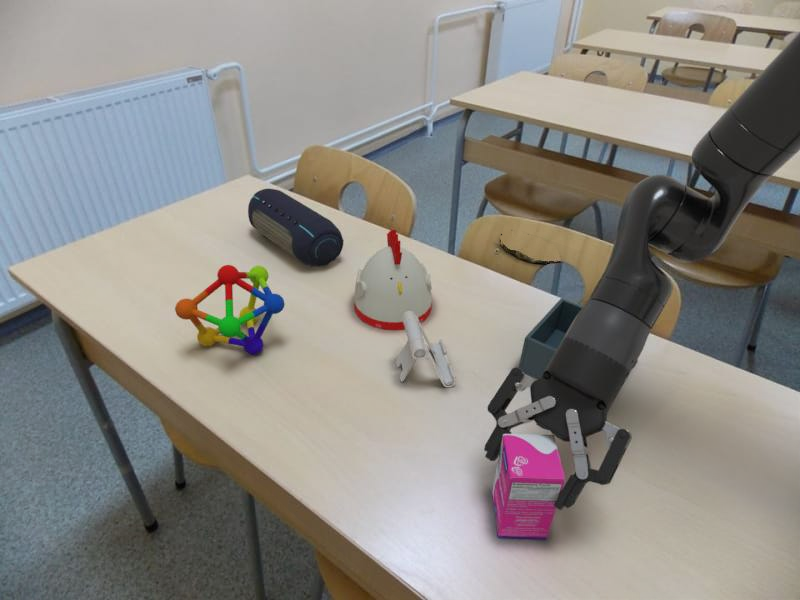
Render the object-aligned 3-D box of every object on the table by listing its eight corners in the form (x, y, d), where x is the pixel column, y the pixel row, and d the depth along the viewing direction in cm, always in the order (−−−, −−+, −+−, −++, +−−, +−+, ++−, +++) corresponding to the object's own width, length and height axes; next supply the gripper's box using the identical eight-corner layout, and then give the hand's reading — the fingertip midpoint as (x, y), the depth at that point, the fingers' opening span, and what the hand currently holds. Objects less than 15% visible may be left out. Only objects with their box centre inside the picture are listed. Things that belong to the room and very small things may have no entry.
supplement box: (489, 493, 63) (502, 430, 56) (538, 495, 63) (557, 433, 56) (495, 539, 58) (509, 477, 51) (548, 541, 58) (569, 479, 51)
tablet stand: (454, 387, 77) (460, 344, 72) (403, 392, 76) (404, 349, 71) (441, 349, 84) (445, 307, 79) (394, 353, 83) (394, 312, 78)
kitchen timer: (360, 334, 87) (358, 257, 78) (349, 288, 98) (346, 216, 89) (440, 324, 89) (446, 249, 80) (421, 281, 100) (425, 210, 91)
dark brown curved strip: (569, 259, 110) (510, 234, 118) (576, 239, 107) (514, 215, 115) (548, 272, 103) (487, 245, 111) (555, 251, 101) (491, 224, 109)
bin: (630, 361, 83) (642, 329, 79) (600, 410, 74) (612, 377, 70) (553, 328, 89) (561, 297, 85) (518, 369, 81) (524, 337, 77)
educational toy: (246, 387, 78) (220, 313, 68) (188, 356, 83) (156, 283, 73) (312, 325, 87) (297, 253, 78) (256, 301, 93) (236, 230, 83)
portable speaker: (244, 232, 114) (236, 190, 108) (283, 219, 120) (278, 178, 114) (308, 280, 99) (304, 234, 93) (350, 263, 105) (348, 218, 99)
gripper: (531, 314, 56) (457, 443, 56) (663, 379, 49) (577, 529, 48) (547, 329, 63) (480, 446, 62) (665, 389, 55) (590, 522, 55)
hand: (522, 482), depth 55 cm, fingers open, 8 cm apart
